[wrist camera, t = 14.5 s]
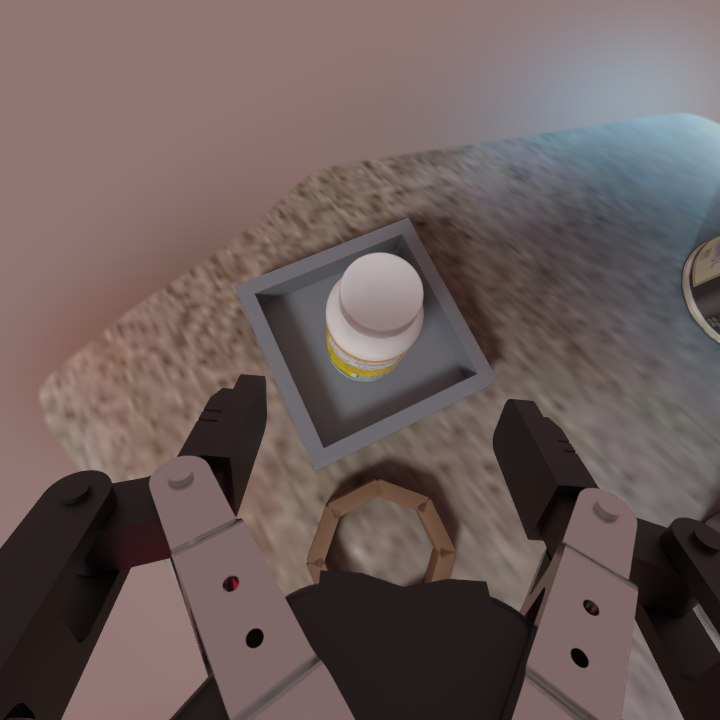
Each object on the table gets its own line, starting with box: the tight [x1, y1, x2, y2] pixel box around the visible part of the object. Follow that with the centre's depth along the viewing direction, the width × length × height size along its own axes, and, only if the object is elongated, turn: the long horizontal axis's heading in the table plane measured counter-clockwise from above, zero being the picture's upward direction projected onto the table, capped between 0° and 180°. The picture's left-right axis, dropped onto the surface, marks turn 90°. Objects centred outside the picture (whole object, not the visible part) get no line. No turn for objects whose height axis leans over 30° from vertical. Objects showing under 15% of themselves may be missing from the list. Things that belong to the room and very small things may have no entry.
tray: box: [234, 218, 498, 471], centre depth 27 cm, size 13×13×3 cm
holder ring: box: [307, 478, 456, 584], centre depth 24 cm, size 9×9×2 cm
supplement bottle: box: [326, 253, 424, 381], centre depth 23 cm, size 5×5×10 cm
